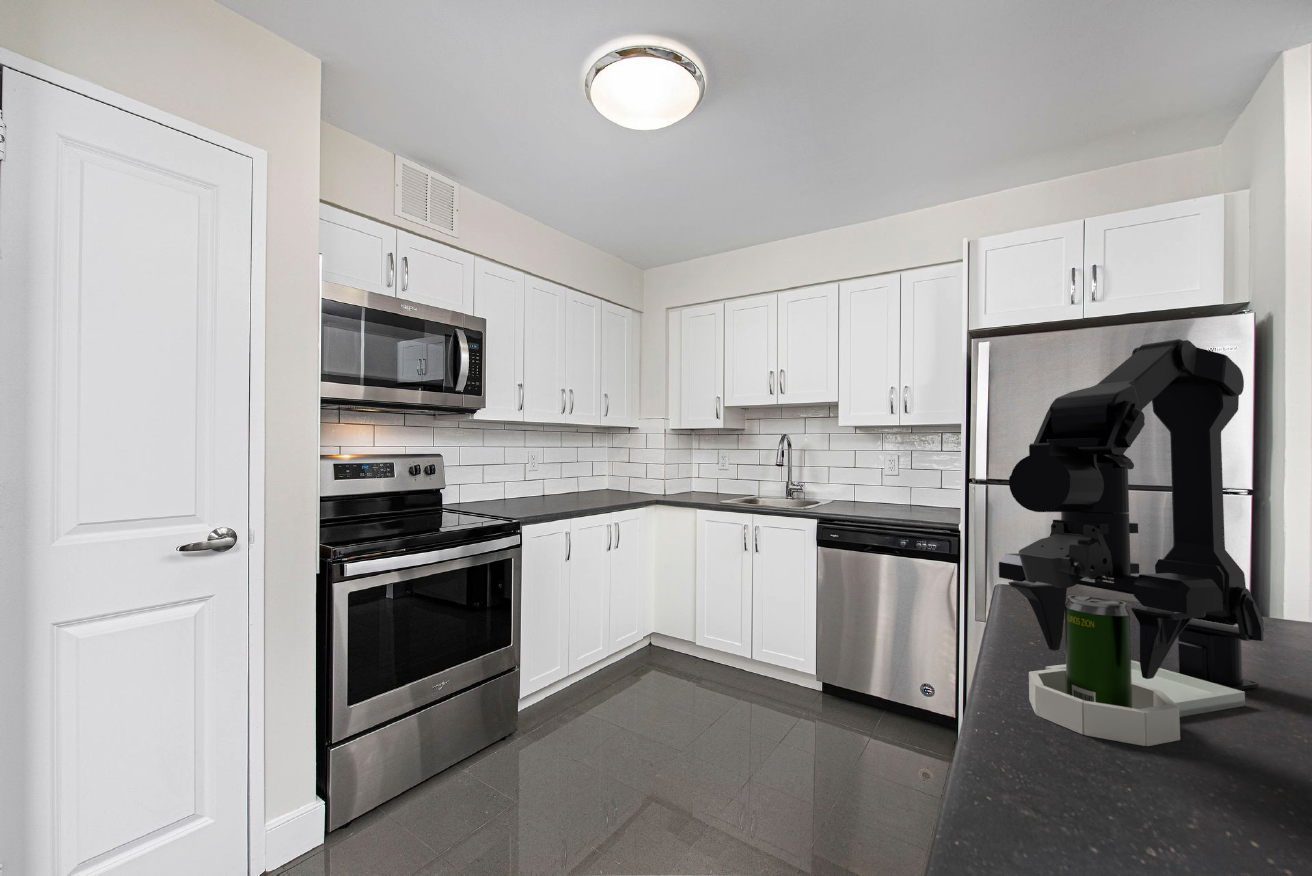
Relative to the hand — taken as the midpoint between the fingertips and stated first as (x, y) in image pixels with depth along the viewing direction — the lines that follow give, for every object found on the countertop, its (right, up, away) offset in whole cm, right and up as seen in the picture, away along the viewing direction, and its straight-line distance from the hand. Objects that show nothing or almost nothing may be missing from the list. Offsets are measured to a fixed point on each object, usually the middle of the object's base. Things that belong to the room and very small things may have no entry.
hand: (1097, 663), depth 60 cm
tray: (+11, -6, +8) cm, 15 cm away
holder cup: (0, -6, 0) cm, 6 cm away
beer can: (0, -6, 0) cm, 6 cm away
